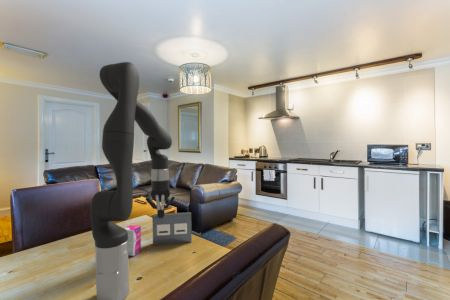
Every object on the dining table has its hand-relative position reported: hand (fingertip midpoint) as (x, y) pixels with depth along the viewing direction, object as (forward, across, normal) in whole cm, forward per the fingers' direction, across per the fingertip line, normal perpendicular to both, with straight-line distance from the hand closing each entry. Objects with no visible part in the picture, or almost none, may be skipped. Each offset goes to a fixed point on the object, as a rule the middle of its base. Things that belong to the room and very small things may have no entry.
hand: (161, 217), depth 100 cm
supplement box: (+15, -13, 0) cm, 20 cm away
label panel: (+15, +4, +8) cm, 17 cm away
